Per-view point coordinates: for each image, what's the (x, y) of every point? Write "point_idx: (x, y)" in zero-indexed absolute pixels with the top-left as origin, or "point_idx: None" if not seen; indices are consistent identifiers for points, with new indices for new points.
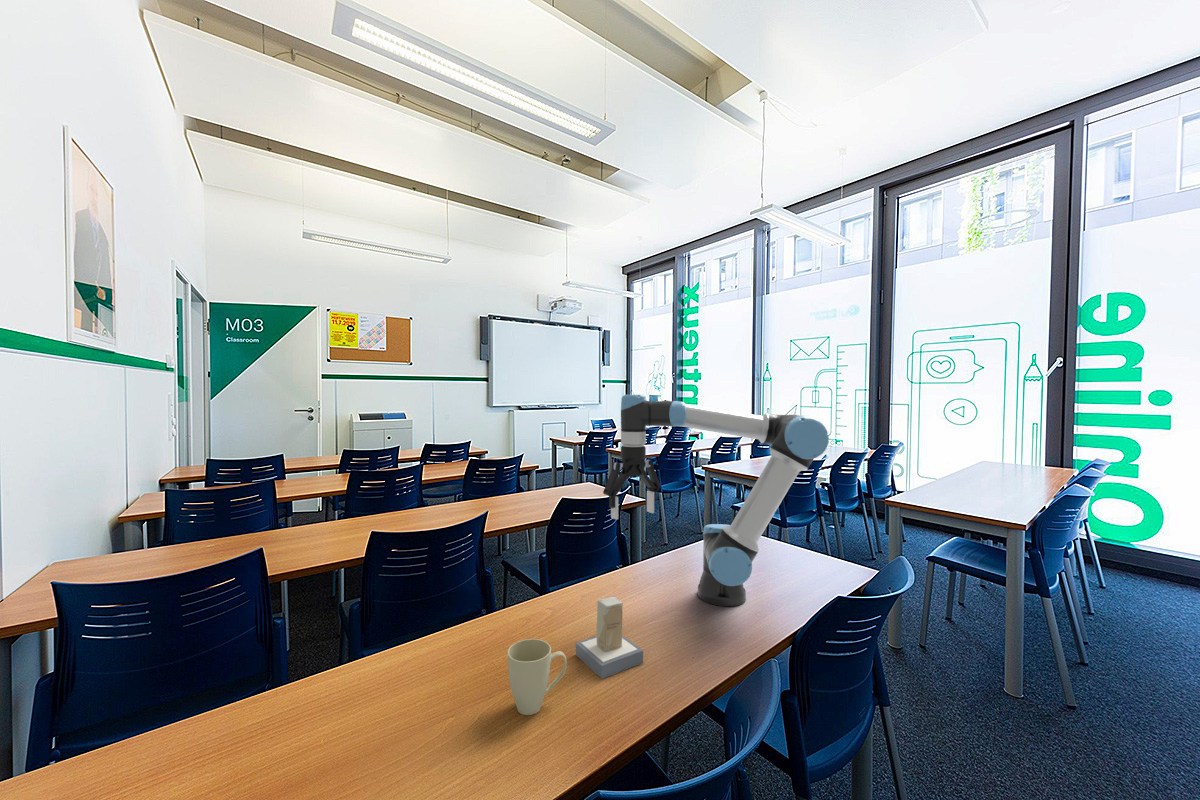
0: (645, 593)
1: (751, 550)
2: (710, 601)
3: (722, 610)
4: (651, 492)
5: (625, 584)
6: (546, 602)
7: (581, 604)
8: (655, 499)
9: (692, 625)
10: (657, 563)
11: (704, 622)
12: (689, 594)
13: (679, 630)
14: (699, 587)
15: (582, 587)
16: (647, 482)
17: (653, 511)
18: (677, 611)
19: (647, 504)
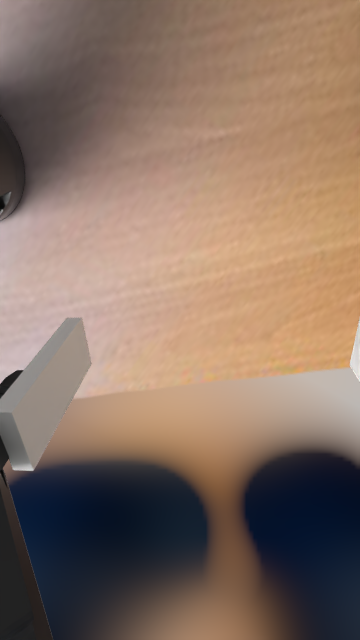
0: (135, 276)
1: None
2: (12, 137)
3: (4, 86)
4: (17, 419)
5: (150, 336)
6: None
7: (297, 303)
8: (6, 378)
9: (130, 53)
10: None
11: (90, 50)
12: (38, 216)
13: (179, 48)
14: (6, 198)
15: (242, 369)
16: (10, 522)
17: (68, 323)
18: (119, 150)
19: (74, 386)
